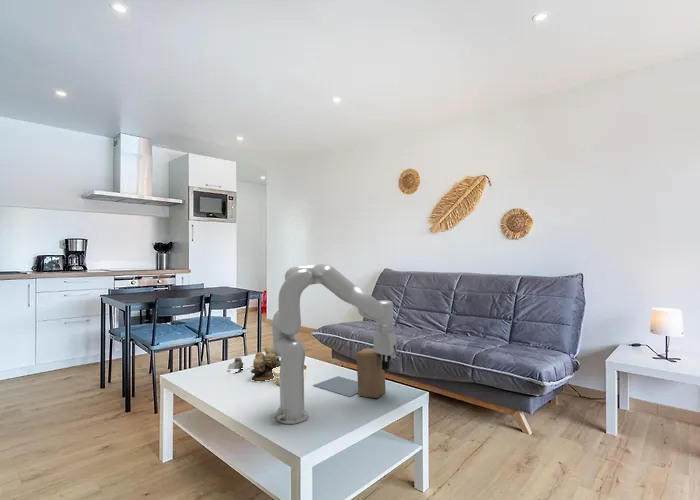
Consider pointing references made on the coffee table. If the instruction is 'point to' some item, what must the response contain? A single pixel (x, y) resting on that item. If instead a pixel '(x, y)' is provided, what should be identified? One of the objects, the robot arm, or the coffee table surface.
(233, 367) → the artificial flower
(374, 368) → the wooden block
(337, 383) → the mat
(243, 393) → the coffee table surface
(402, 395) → the coffee table surface
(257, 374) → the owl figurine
